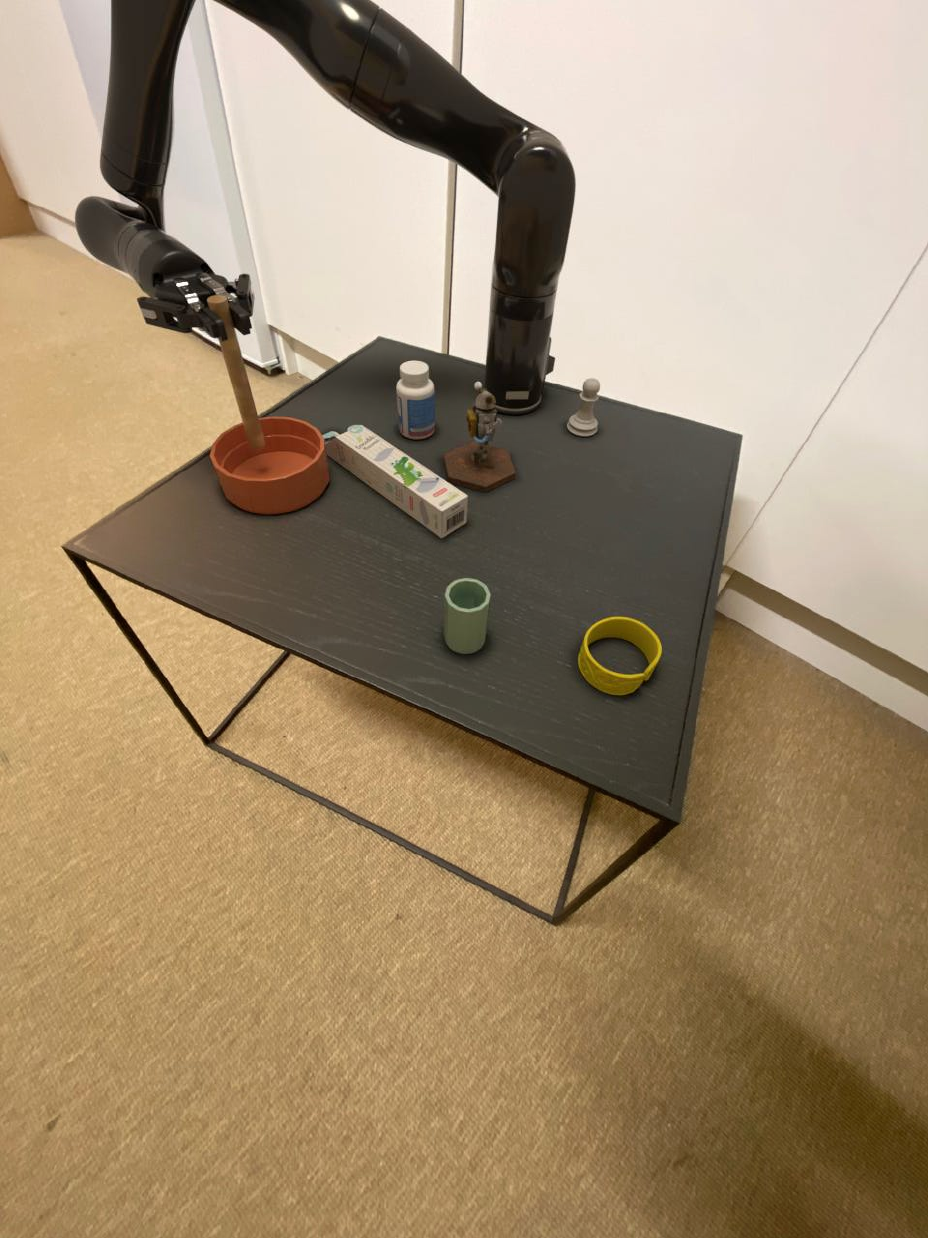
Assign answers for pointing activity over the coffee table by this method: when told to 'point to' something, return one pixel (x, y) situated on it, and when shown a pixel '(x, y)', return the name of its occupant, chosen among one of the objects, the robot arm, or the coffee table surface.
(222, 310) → the stick
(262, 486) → the bowl
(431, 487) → the box
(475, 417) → the robot figurine
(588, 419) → the chess piece
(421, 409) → the pill bottle
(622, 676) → the bracelet
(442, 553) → the coffee table surface
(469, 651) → the holder
